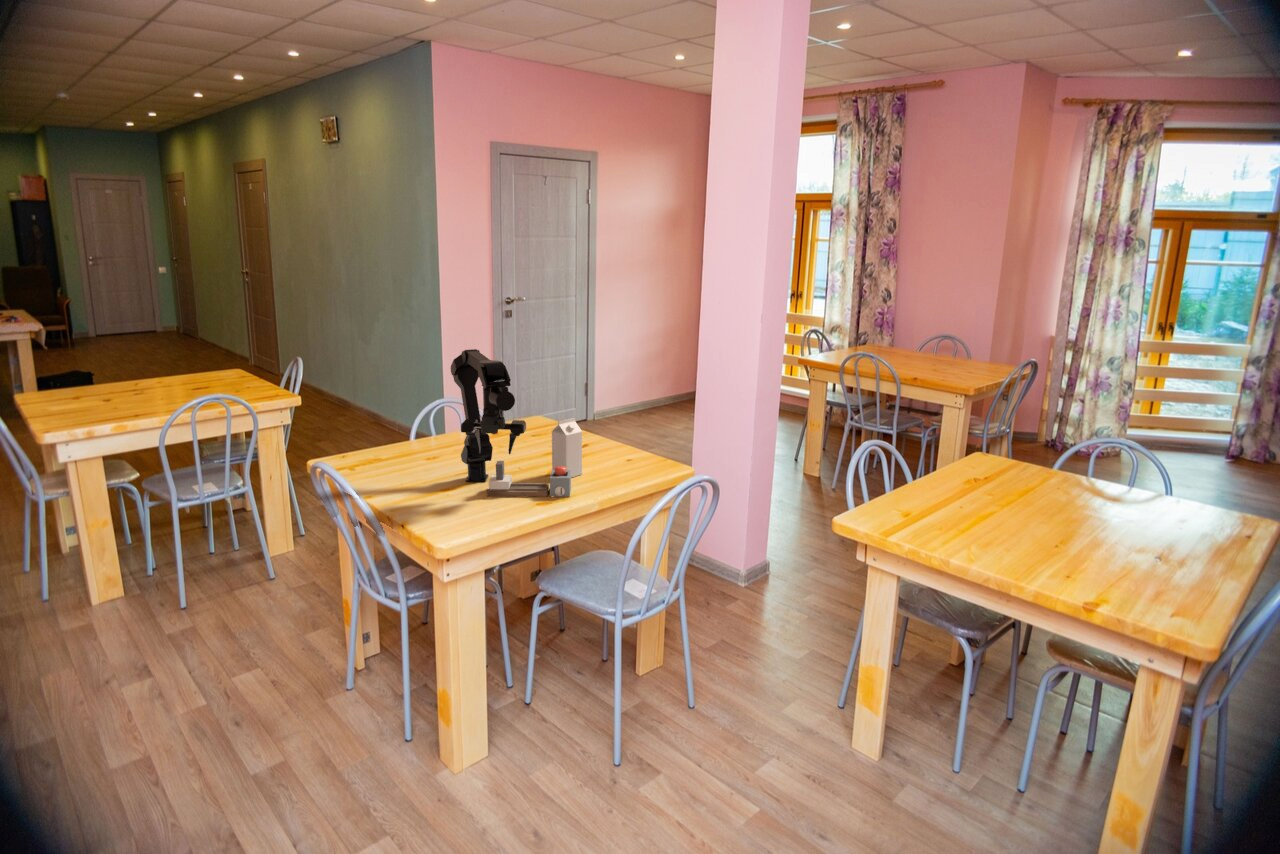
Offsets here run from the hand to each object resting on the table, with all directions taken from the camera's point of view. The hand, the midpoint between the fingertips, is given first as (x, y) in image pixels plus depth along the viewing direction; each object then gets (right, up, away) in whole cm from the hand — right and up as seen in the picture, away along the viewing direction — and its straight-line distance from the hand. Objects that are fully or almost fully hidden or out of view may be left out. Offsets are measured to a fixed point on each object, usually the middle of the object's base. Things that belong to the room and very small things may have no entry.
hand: (494, 453), depth 230 cm
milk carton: (+20, -8, +23) cm, 31 cm away
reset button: (+20, -6, +4) cm, 21 cm away
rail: (+7, -12, +5) cm, 15 cm away
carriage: (+1, -10, +4) cm, 11 cm away
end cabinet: (+20, -12, +6) cm, 24 cm away
